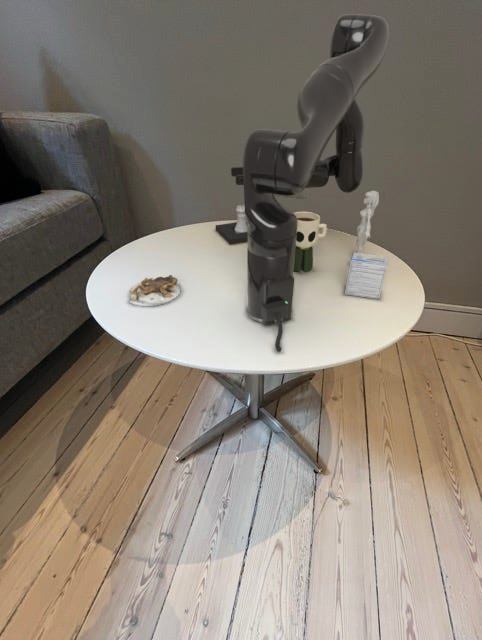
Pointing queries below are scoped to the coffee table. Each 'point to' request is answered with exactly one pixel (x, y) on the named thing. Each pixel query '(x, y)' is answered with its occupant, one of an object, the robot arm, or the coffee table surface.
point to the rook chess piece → (241, 220)
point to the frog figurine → (154, 291)
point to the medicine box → (366, 275)
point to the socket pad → (231, 233)
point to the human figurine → (366, 213)
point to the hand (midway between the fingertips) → (233, 175)
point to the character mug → (307, 239)
